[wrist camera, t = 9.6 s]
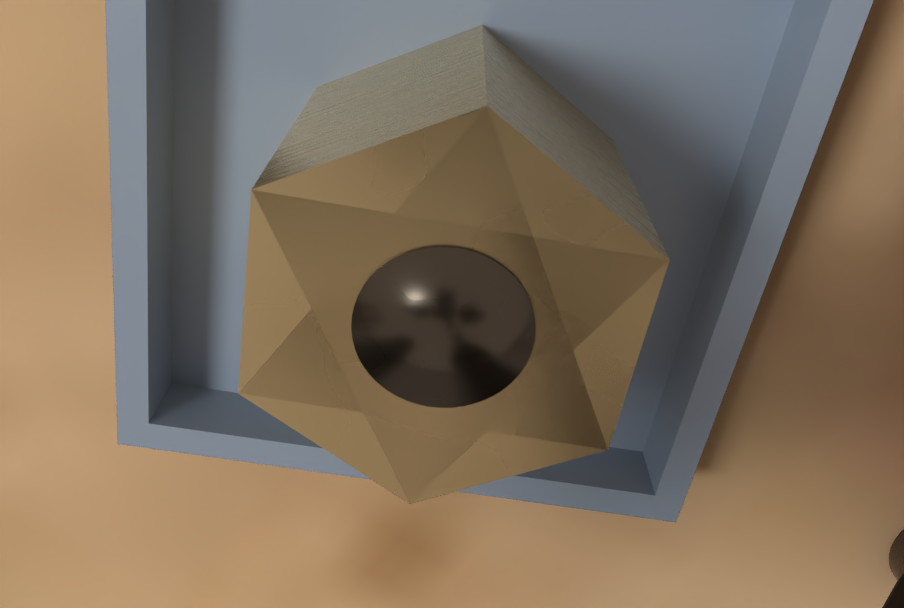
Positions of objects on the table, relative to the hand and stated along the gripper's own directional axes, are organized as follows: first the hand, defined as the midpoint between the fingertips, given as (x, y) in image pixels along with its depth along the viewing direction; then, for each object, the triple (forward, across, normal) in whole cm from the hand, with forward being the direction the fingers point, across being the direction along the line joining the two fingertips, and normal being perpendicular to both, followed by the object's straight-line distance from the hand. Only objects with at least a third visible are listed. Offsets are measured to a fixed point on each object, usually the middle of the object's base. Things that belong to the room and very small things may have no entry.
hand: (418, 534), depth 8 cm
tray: (+10, 0, 0) cm, 10 cm away
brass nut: (+9, 0, 0) cm, 9 cm away
